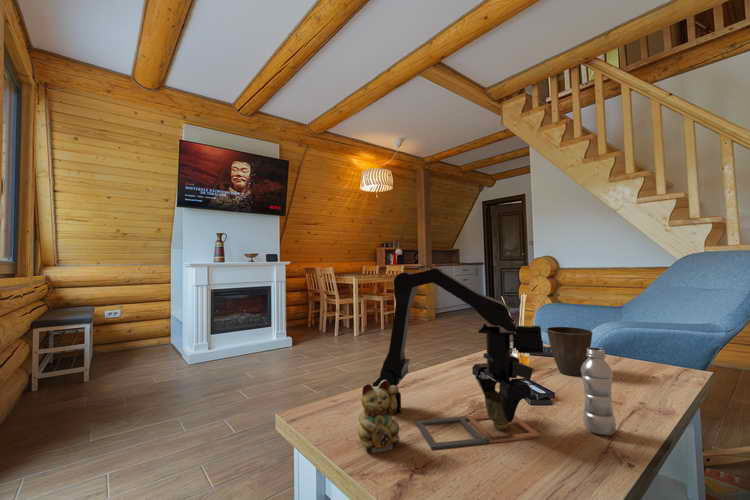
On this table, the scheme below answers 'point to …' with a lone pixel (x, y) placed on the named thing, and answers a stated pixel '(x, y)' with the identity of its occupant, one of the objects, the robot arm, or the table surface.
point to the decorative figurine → (378, 417)
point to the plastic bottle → (598, 393)
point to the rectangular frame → (473, 432)
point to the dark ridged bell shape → (496, 410)
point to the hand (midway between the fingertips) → (500, 413)
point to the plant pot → (569, 348)
